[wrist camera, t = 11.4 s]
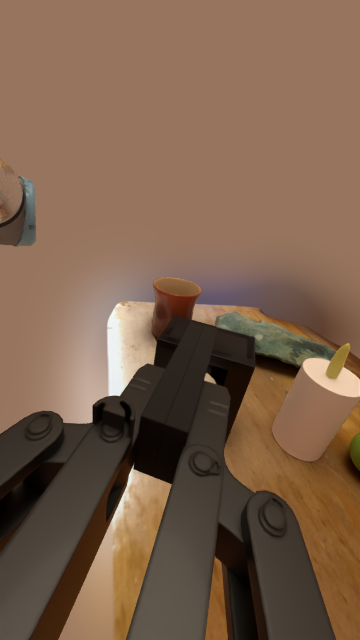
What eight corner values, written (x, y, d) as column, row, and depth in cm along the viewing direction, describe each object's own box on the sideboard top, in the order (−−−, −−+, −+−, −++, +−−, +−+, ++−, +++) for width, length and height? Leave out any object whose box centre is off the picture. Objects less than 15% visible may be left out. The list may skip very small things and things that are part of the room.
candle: (330, 442, 33) (395, 348, 26) (309, 472, 28) (380, 369, 21) (286, 410, 36) (332, 320, 29) (262, 432, 32) (309, 333, 25)
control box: (145, 418, 31) (157, 338, 26) (161, 387, 36) (174, 314, 31) (224, 446, 30) (255, 367, 24) (229, 409, 35) (255, 337, 29)
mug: (198, 345, 48) (210, 296, 43) (154, 349, 44) (161, 296, 40) (177, 315, 57) (184, 272, 52) (139, 316, 54) (143, 270, 49)
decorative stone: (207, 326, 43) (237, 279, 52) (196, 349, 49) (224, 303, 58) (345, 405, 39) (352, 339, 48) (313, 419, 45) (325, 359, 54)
